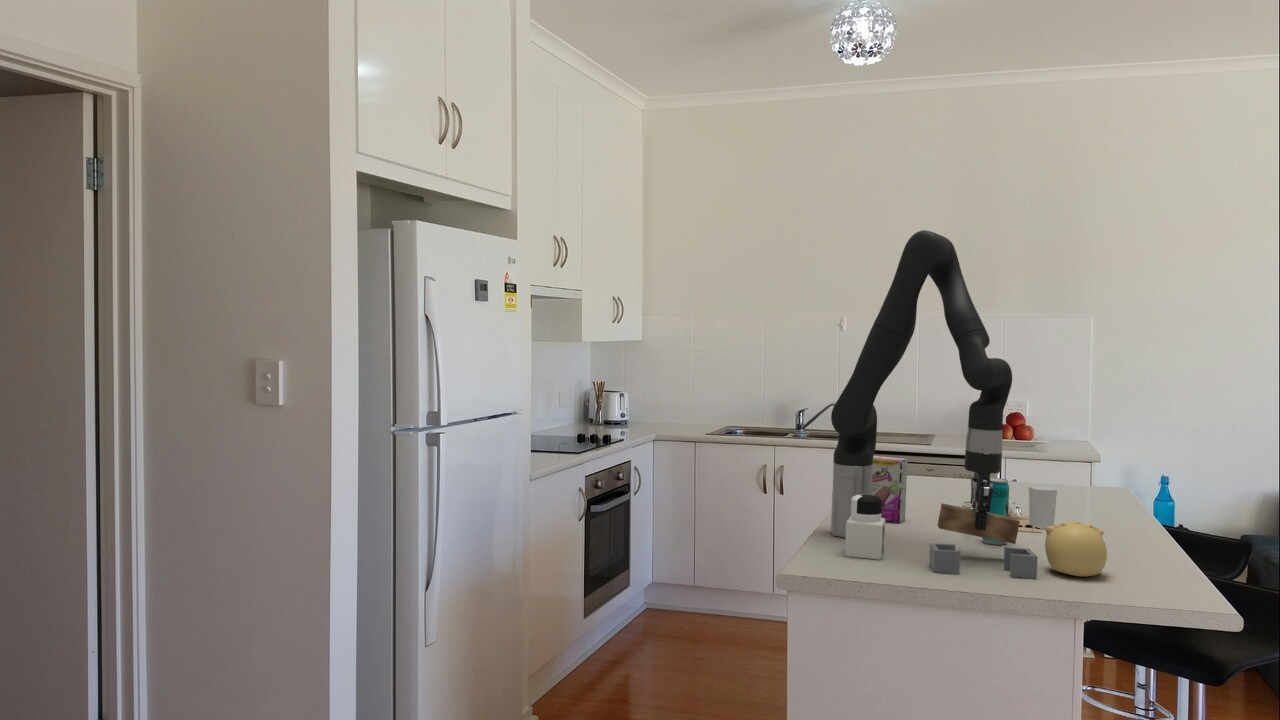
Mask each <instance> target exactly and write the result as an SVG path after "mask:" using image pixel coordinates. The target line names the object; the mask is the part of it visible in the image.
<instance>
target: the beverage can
mask: <svg viewBox="0 0 1280 720" xmlns="http://www.w3.org/2000/svg"><path fill="white" fill-rule="evenodd" d="M990 481H992V482H993V487H992V488H993V492H992V499H991V506H990V512H988V513H993V514H998V515H1003V516H1008V517H1009V509H1010V508H1009V505H1010V502H1009V501H1010V486H1009V479H1006V478H999V477H998V478H997V477H990ZM981 538H982V540H983V543H984V544H988V545H993V546H994V545H995V546H1002V545H1005V543H1006V542H1003V541H998V540H993V539H988V538H983V537H981Z"/></svg>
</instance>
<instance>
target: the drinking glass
mask: <svg viewBox="0 0 1280 720" xmlns="http://www.w3.org/2000/svg"><path fill="white" fill-rule="evenodd" d="M1057 494H1058V489H1057V488H1055V487H1051V486H1046V485H1045V486H1044V485H1043V486H1042V485H1030V486H1029V487H1028V506H1029V507H1028V509H1029V513H1028V514H1029V516H1028V521H1029V523H1028V524H1029V525H1031V526H1034V527H1037V528H1040V529H1039V530H1046V527H1048V526H1053V525H1055V519H1056V518H1055V517H1056V504H1057ZM1037 528H1036V529H1037Z"/></svg>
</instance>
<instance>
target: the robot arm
mask: <svg viewBox="0 0 1280 720" xmlns="http://www.w3.org/2000/svg"><path fill="white" fill-rule="evenodd" d="M928 276H929V277H930V278H931V280H932V281H933V282H934V284H935V286H936V288H937V289H938V292H939V294H940V297H941V301H942V305H943V306H942V307H943V311H944V312H943V315H944V319H945V322H946V325H947V328H948V330H949V333H950V335H951V337H952V339H953V342H954V343H955V345H956V347H957V349H958V358H959V361H960V368H961V373H962V375H963V378H964V380H965V381H966V383H967V385H969V386H970V388H972V389H974V390H976V391H980V394H979V395H980V396H979V398H978V399H977V400H976V401H973V402H972V403H971V404H970V405H969V409H968V424H967V433H966V438H965V452H964V453H965V454H964V465H963V466H964V469H965V470H966V471H968V472H973V476H971V477H970V479H969V480H970V503H971V509H973V510H975V511H976V518H975V528H976V530H986V521H987V513H988V512H990V506H991V499H992V492H993V488H992V487H993V482H992V481H990V478H991V475H992V474H999V473H1000V472H1001V470H1002V459H1003V458H1002V456H1003V440H1004V439H1003V438H1004V437H1003V420H1004V409H1005V407H1006V405H1007V401H1008V398H1009V394H1010V392H1011V389H1012V384H1013V372H1012V368H1011V366H1010V365H1009V363H1008V362H1007V361H1006V360H1005V359H1002V358H997V357H994V358H993V357H988V355H987V352H986V348H987V347H988V346H989V345H990V342H991V340H990V337H989V333H988V332H987V330H986V327H985V325H984V323H983V321H982V319H981V317H980V315H979V313H978V311H977V308H976V307H975V305H974V302H973V300H972V298H971V295H970V293H969V290H968V288H967V285H966V284H967V283H966V282H965V278H964V275H963V273H962V270H961V265H960V260H959V258H958V254H957V251H956V248H955V246H954V243H953V242H952V241H951V240H950V239H949V238H947V237H945V236H943V235H942V234H940V233H939V234H938V233H936V232H934V231H930V230H927V229H925V230H924V229H923V230H920V231H917V232H915V233H914V234H912V235H911V236H910V238H908V241H906V244H905V245H904V248H903V250H902V253H901V255H900V258H899V262H898V265H897V268H896V271H895V273H894V277H893V280H892V282H891V285H890V287H889V290H888V292H887V294H886V297H885V298H884V301H883V303H882V304H881V307H880V310H879V312H878V314H877V316H876V317H875V320H874V323H873V324H872V326H871V328H870V331H869V333H868V335H867V337H866V340H865V343H864V344H863V347H862V350H861V351H860V354H859V357H858V359H857V362H856V364H855V367H854V370H853V372H852V374H851V377H850V378H849V380H848V382H847V384H846V385H845V387H844V389H843V390H842V392H841V394H840V396H839V397H838V399H837V401H836V402H835V403H834V405H833V408H832V410H831V413H830V414H831V418H830V421H831V425H832V427H833V429H834V430H835V432H837V434H838V441H837V445H836V447H835V449H834V452H833V466H832V470H833V471H832V492H831V515H830V517H831V520H830V521H831V522H830V523H831V525H830V534H831V536H832V537H833V536H834V537H841V538H845V539H846V522H847V520H848V519H849V517H850V516H852V515H851V498H852V497H854V496H856V495H872V470H873V465H872V464H873V456H875V453H876V447H877V446H876V445H877V433H878V432H877V431H878V430H877V429H878V414H877V409H876V407H875V405H874V403H875V401H876V398H877V396H878V394H879V391H880V390H881V388H882V386H883V385H884V383H885V381H886V380H887V379H888V378H889V376H890V375H891V374H892V372H894V370H895V368H896V367H897V366H898V364H899V362H900V361H901V359H902V358H903V357H904V354H905V353H906V350H907V348H908V346H909V344H910V343H911V340H912V337H913V335H914V333H915V328H916V323H917V322H916V321H917V309H918V300H919V297H920V292H921V290H922V288H923V285H924V283H925V282H926V280H927V278H928Z"/></svg>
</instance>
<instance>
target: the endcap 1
mask: <svg viewBox="0 0 1280 720" xmlns="http://www.w3.org/2000/svg"><path fill="white" fill-rule="evenodd" d="M960 559H961V551H960V550H956V545H955V544H953V543H952V544H950V543H949V544H948V543H937V542H936V543H933V542H930V543H929V566H930V569H931V570H932V571H933V573H937V574H951V575H952V574H956V575H960V569H961V568H960V565H961V564H960V561H961V560H960Z"/></svg>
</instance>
